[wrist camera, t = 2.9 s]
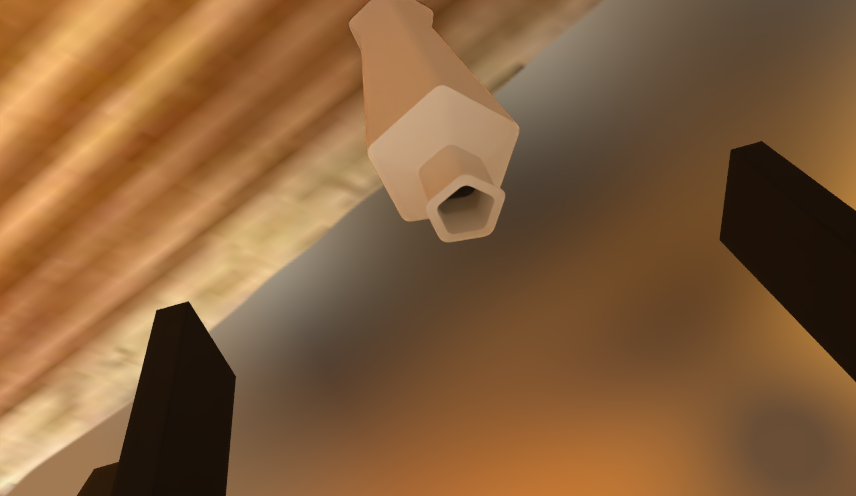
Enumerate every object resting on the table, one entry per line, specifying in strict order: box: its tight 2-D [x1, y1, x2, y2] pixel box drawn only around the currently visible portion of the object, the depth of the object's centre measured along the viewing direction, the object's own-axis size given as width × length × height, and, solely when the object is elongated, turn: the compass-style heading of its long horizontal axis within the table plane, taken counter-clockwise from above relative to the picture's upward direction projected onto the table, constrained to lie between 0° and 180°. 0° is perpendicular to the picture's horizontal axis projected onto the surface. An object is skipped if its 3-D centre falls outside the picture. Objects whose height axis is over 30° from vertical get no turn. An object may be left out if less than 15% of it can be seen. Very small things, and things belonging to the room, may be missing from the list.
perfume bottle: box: [349, 0, 519, 242], centre depth 22 cm, size 5×4×15 cm
